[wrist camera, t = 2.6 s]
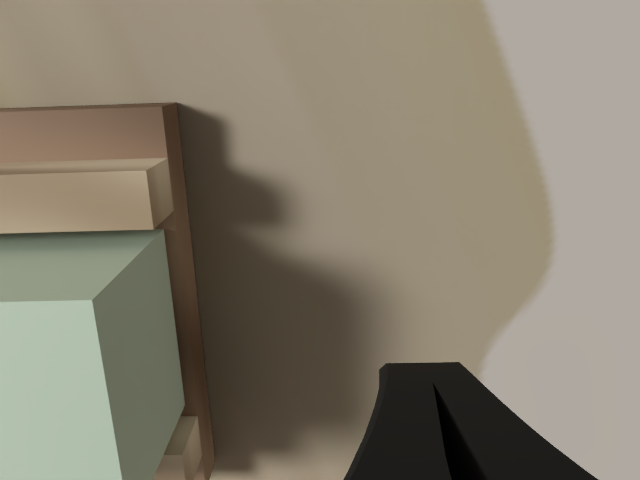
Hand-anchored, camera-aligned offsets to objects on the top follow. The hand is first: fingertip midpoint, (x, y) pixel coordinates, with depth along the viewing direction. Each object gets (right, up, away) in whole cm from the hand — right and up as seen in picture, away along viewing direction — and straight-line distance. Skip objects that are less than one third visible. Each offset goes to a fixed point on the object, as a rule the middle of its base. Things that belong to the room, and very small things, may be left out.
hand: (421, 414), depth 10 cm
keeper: (-7, +1, +4) cm, 8 cm away
